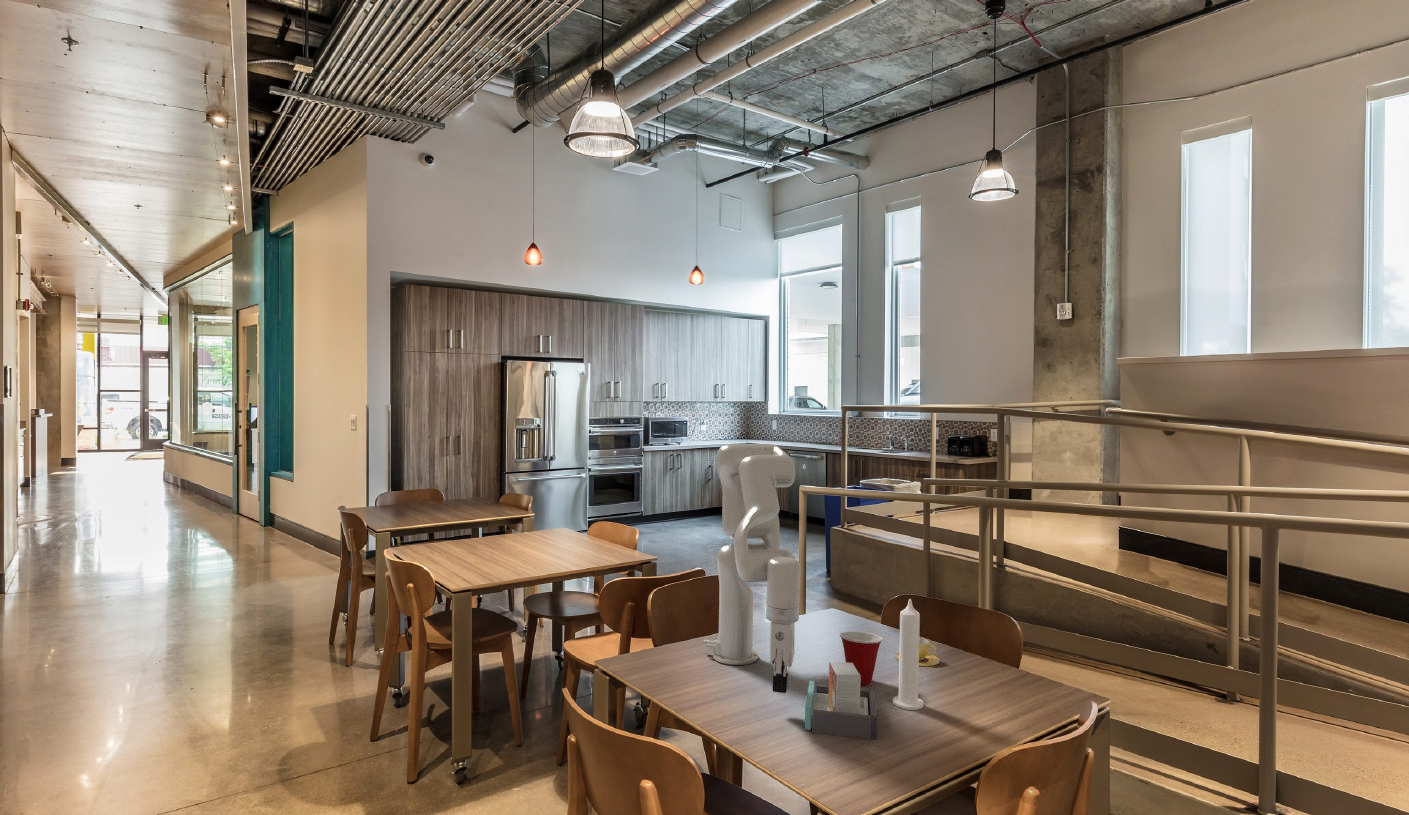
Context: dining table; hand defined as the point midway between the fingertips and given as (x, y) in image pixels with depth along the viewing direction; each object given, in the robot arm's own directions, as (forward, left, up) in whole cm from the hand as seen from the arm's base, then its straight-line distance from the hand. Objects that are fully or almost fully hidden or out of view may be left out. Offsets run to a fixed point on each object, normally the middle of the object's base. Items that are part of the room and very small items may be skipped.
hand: (779, 690), depth 166 cm
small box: (+14, -1, -4) cm, 15 cm away
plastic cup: (+18, +24, -5) cm, 31 cm away
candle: (+29, +12, -5) cm, 32 cm away
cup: (+34, +45, -5) cm, 57 cm away
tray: (+13, -1, -5) cm, 14 cm away
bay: (+14, -1, -5) cm, 15 cm away
